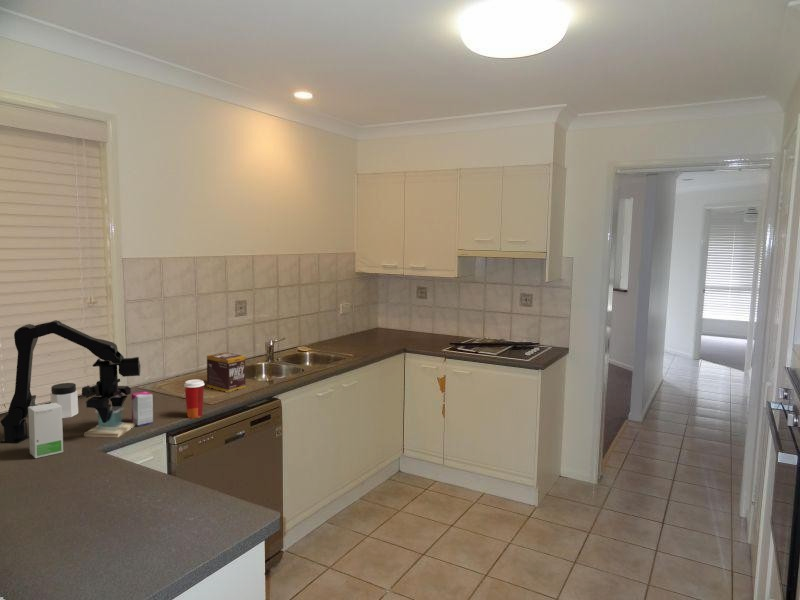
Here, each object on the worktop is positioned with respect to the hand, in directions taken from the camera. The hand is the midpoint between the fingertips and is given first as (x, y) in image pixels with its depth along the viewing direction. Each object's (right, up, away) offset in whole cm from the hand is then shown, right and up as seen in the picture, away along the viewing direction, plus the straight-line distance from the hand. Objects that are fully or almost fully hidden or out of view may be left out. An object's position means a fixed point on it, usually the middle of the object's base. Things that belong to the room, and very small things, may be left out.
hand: (110, 419), depth 196 cm
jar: (-26, -2, +16) cm, 31 cm away
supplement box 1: (+7, -4, +9) cm, 12 cm away
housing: (0, -3, 0) cm, 3 cm away
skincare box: (-10, -7, -20) cm, 23 cm away
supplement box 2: (+23, +2, +59) cm, 64 cm away
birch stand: (0, -4, 0) cm, 4 cm away
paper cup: (+24, -3, +19) cm, 30 cm away
